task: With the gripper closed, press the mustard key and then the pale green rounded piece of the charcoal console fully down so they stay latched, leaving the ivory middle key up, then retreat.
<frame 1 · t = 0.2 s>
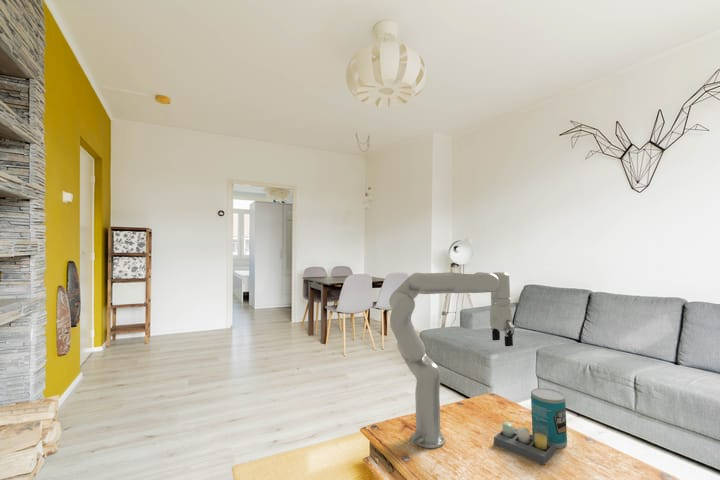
hand: (502, 343, 143), 37 cm above the table, tool pointing down, fingers open, 9 cm apart
key mustard: (540, 441, 126), point 5 cm above the table, slide at 0.0 cm
pale green rounded piece: (508, 429, 135), point 5 cm above the table, slide at 0.0 cm
key ivory: (523, 435, 130), point 5 cm above the table, slide at 0.0 cm
console: (524, 448, 130), on the table
food can: (549, 440, 135), on the table
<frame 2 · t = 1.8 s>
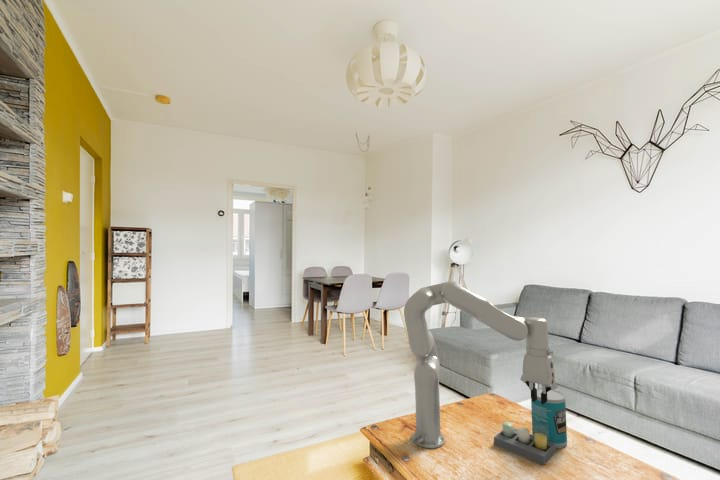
hand: (539, 401, 127), 19 cm above the table, tool pointing down, fingers closed
nothing on the table moved.
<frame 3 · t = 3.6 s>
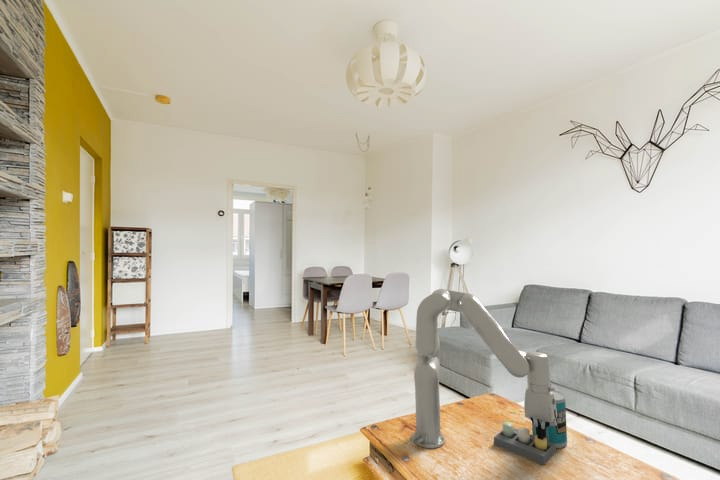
hand: (541, 437, 126), 6 cm above the table, tool pointing down, fingers closed
key mustard: (540, 443, 126), point 4 cm above the table, slide at 0.7 cm, touching gripper
everything else where it was.
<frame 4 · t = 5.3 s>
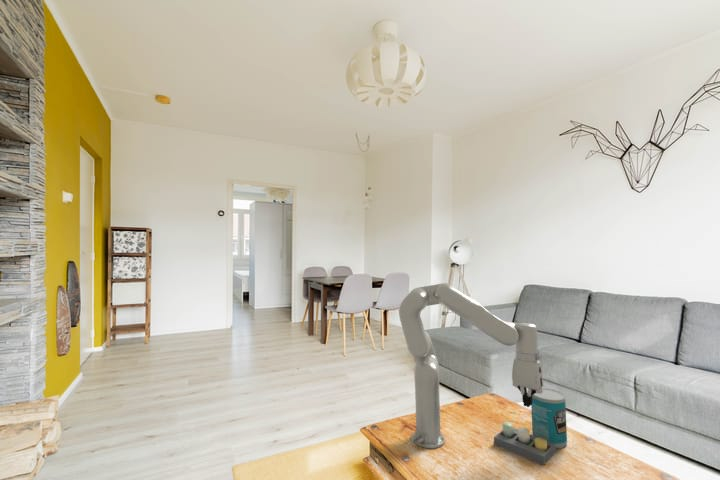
hand: (527, 405, 129), 17 cm above the table, tool pointing down, fingers closed
key mustard: (540, 445, 126), point 3 cm above the table, slide at 1.7 cm
everything else where it was.
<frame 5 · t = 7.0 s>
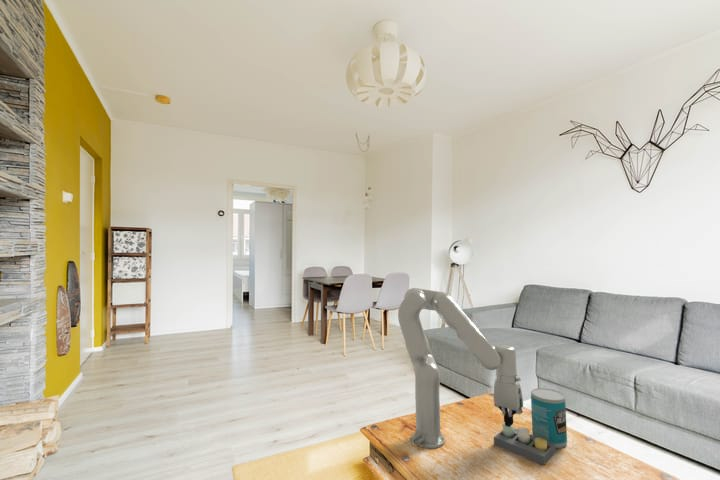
hand: (508, 425, 135), 7 cm above the table, tool pointing down, fingers closed
pale green rounded piece: (508, 430, 135), point 5 cm above the table, slide at 0.3 cm, touching gripper
everything else where it was.
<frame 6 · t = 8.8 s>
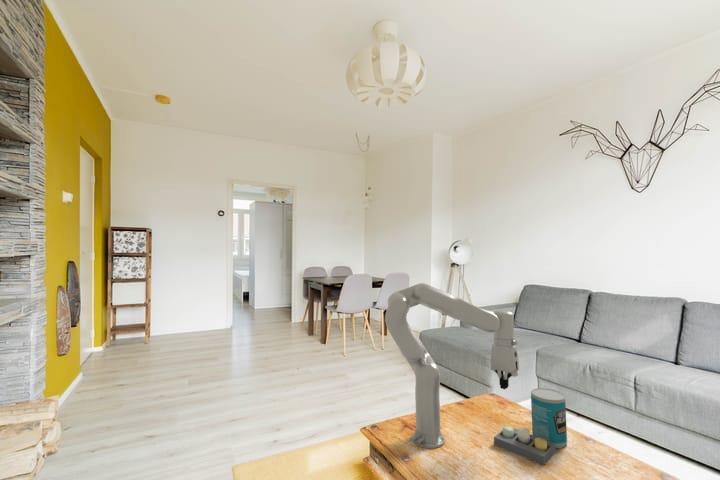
hand: (504, 388, 137), 20 cm above the table, tool pointing down, fingers closed
pale green rounded piece: (508, 433, 135), point 3 cm above the table, slide at 1.7 cm
everything else where it was.
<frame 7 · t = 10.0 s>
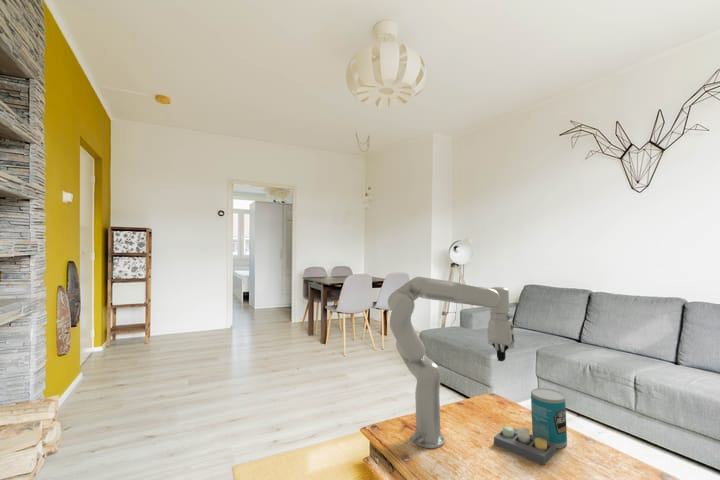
hand: (501, 360, 144), 29 cm above the table, tool pointing down, fingers closed
nothing on the table moved.
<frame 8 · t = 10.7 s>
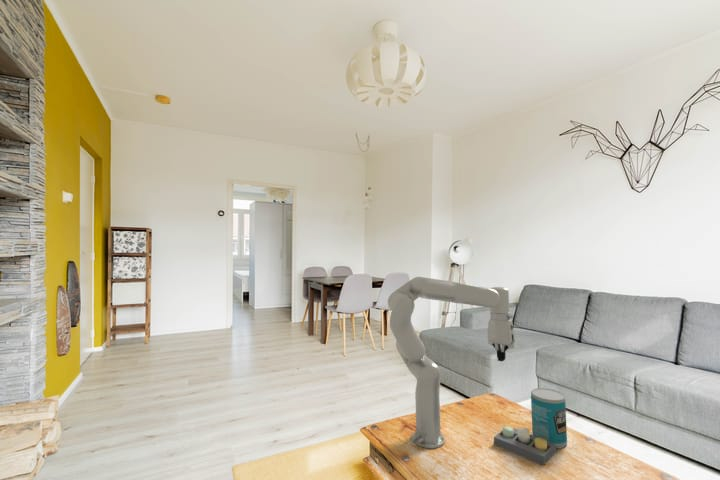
hand: (501, 360, 144), 29 cm above the table, tool pointing down, fingers closed
nothing on the table moved.
at the end: key mustard slide at 1.7 cm; pale green rounded piece slide at 1.7 cm; key ivory slide at 0.0 cm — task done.
